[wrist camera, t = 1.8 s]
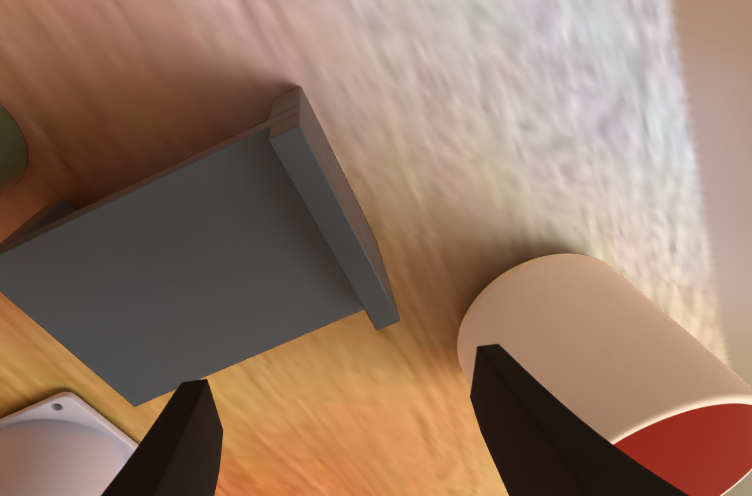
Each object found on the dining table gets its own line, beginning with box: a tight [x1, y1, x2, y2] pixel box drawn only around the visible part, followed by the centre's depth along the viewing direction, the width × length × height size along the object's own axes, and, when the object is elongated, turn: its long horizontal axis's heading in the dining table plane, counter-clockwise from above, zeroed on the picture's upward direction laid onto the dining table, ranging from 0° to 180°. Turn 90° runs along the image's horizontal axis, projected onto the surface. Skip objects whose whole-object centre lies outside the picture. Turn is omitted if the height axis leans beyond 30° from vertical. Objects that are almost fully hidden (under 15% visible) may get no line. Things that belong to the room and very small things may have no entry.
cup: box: [457, 253, 752, 496], centre depth 21 cm, size 10×10×10 cm
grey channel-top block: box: [0, 86, 401, 407], centre depth 17 cm, size 12×8×6 cm, turn 112°
